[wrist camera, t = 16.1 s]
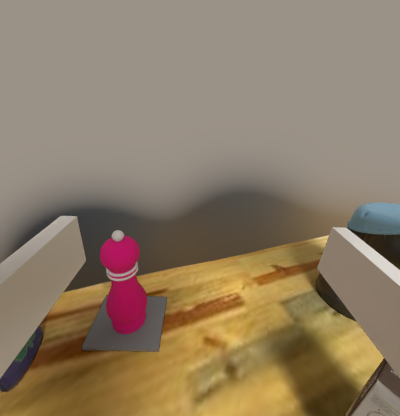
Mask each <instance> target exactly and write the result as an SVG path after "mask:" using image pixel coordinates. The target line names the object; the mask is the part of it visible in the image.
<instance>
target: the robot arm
mask: <svg viewBox="0 0 400 416" xmlns="http://www.w3.org/2000/svg"><path fill="white" fill-rule="evenodd" d="M347 226H348V228H336V227H335V228H334V227H333V228H332V230H331V233H330V235H329V238H328V240H327V243H326V246H325V248H324V251H323V254H322V256H321V259H320V262H319V264H318V267H317V269H318V270H319V272H320V273H319V276H318V278H317V281H316V287H317V290H318V292H319V294H320V295H321V297H322V298H323V299H324V300H325V301H326V302H327V303H328V304H329V305H330V306H331V307H332V308H334V309H335V310H336V311H338V312H339V313H341V314H343V315H345V316H346V317H348V318H351V319H353V320H355V321H357V322H358V324H359V325H360V326H361V328H362V329H363V330H364V332H365V333H366V334H367V336H368V337H369V338H370V340H371V341H372V342H373V343H374V345H375V346H376V347H377V349H378V350H379V351H380V353H381V354H382V355H383V357H384V358H385V359H386V361H387V362H388V363H389V365H390V366H391V367H392V369H393V370H394V371H395V373H396V374H397V375H398V377H399V378H400V204H392V203H368V204H364V205H362V206H359V207H358V208H357V209H356V210H355V212H354V213H353V215H352V218H351V220H350V221H349V222H348V224H347ZM85 261H86V257H85V253H84V248H83V244H82V239H81V235H80V230H79V225H78V221H77V217H76V216H60V217H59V218H58V219H56V220H55V221H54V222H53V223H51V224H50V225H49V226H47V227H46V228H45V229H44V230H43V231H41V232H40V233H39V234H37V235H36V236H35V237H34V238H32V239H31V240H30V241H28V242H27V243H26V244H25V245H23V246H22V247H21V248H20V249H18V250H17V251H16V252H15V253H13V254H12V255H11V256H10V257H8V258H7V259H6V260H5V261H3V262H2V263H1V264H0V378H1V377H2V375H3V374H4V373H5V371H6V370H7V369H8V367H9V366H10V364H11V363H12V362H13V360H14V359H15V358H16V356H17V355H18V353H19V352H20V351H21V349H22V348H23V347H24V345H25V344H26V342H27V341H28V340H29V338H30V337H31V336H32V334H33V333H34V331H35V330H36V329H37V327H38V326H39V325H40V323H41V322H42V320H43V319H44V318H45V316H46V315H47V314H48V312H49V311H50V309H51V308H52V307H53V305H54V304H55V303H56V301H57V300H58V299H59V297H60V296H61V294H62V293H63V292H64V290H65V289H66V288H67V286H68V285H69V283H70V282H71V281H72V279H73V278H74V276H75V275H76V274H77V272H78V271H79V270H80V268H81V267H82V265H83V264H84V263H85Z"/></svg>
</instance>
